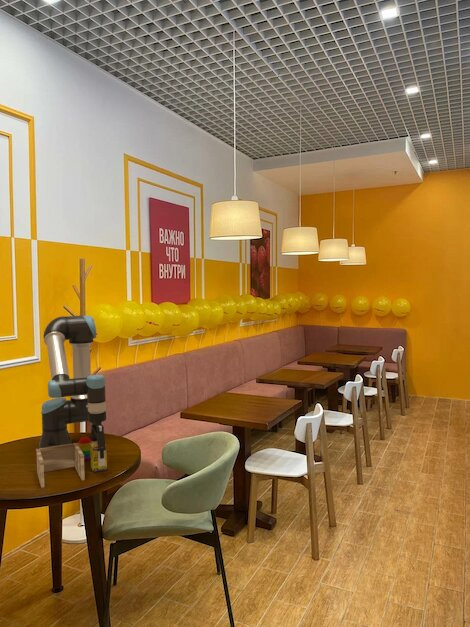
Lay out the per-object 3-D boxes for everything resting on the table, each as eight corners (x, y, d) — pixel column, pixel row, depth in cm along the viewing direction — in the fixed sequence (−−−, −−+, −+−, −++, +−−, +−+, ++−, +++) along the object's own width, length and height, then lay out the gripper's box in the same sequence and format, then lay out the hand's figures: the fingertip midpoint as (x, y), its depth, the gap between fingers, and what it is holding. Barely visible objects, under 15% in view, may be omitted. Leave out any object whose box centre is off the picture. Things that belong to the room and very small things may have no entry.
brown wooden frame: (36, 472, 205) (35, 449, 204) (77, 465, 212) (76, 442, 212) (40, 488, 188) (39, 462, 187) (85, 479, 195) (84, 455, 195)
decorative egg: (82, 462, 215) (81, 440, 215) (72, 459, 221) (71, 437, 220) (98, 457, 221) (97, 436, 221) (88, 454, 227) (87, 433, 226)
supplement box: (93, 473, 203) (92, 447, 202) (90, 468, 208) (89, 443, 207) (107, 470, 205) (106, 445, 205) (104, 466, 211) (103, 441, 210)
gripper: (82, 406, 215) (84, 453, 216) (93, 419, 193) (95, 471, 194) (100, 404, 218) (101, 451, 219) (112, 416, 196) (114, 468, 197)
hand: (98, 460), depth 206 cm, fingers open, 13 cm apart
